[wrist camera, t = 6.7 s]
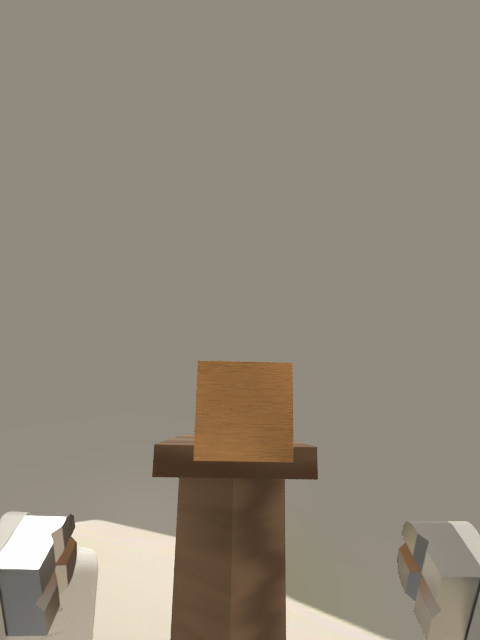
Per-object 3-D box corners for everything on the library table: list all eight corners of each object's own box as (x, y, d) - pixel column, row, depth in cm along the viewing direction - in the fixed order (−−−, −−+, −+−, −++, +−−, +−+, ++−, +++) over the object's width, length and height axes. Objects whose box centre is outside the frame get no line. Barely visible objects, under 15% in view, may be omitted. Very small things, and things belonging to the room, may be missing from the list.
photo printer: (-11, 704, 39) (9, 562, 42) (-16, 681, 42) (3, 552, 46) (95, 668, 45) (106, 546, 48) (83, 650, 48) (94, 538, 52)
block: (293, 462, 12) (292, 363, 13) (193, 460, 12) (197, 360, 13) (249, 436, 33) (250, 399, 34) (213, 435, 33) (214, 398, 34)
